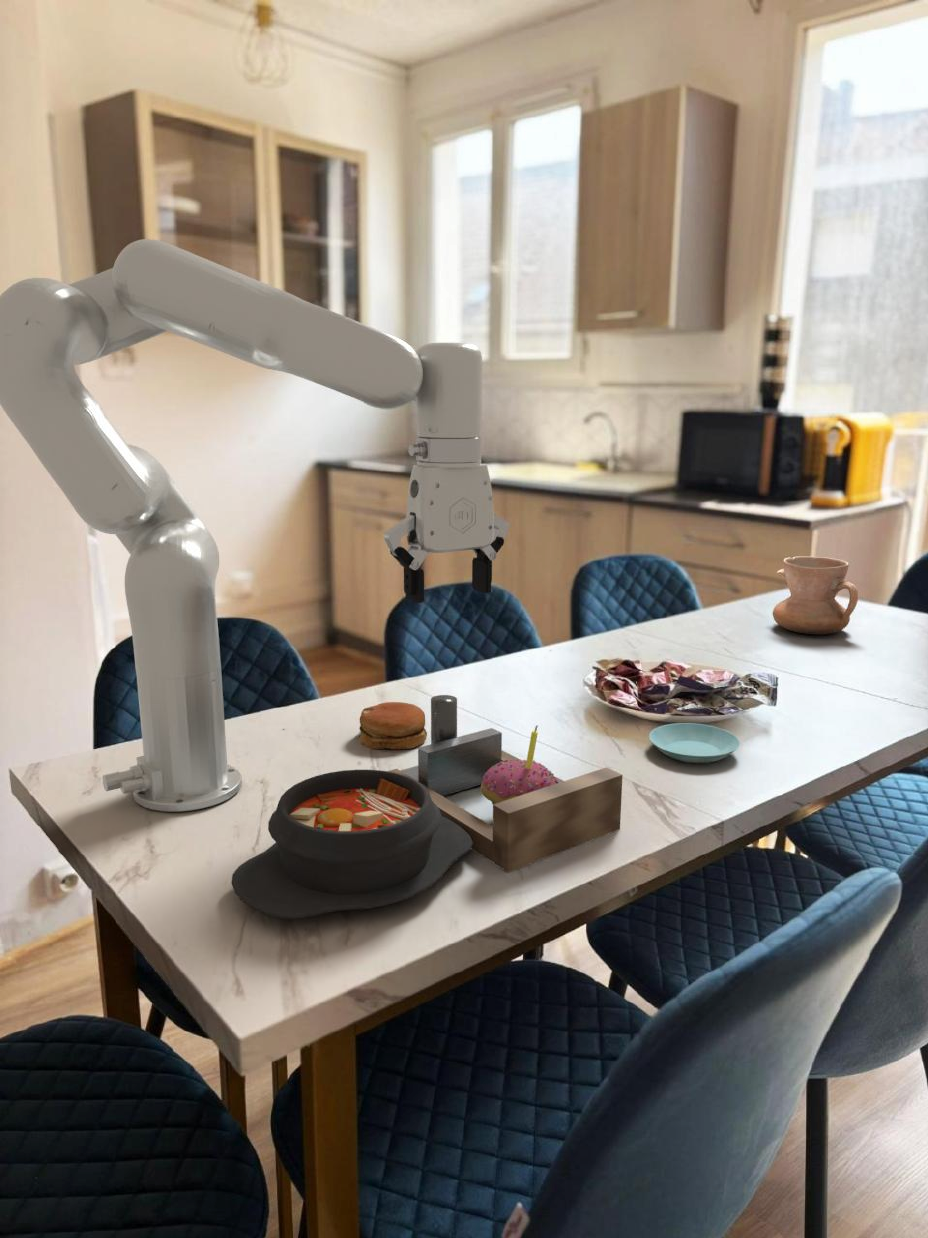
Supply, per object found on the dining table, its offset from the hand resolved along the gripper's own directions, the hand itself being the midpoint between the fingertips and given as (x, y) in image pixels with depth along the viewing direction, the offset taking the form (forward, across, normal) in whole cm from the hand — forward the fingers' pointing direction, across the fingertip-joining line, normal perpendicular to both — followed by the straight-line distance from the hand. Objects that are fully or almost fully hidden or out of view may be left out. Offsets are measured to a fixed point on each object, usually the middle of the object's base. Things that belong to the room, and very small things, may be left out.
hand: (448, 595), depth 112 cm
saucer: (+23, +31, -13) cm, 41 cm away
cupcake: (+23, -1, -16) cm, 28 cm away
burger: (+23, 0, +14) cm, 27 cm away
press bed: (+23, -1, -12) cm, 26 cm away
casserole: (+23, -22, -16) cm, 36 cm away
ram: (+23, -2, -3) cm, 23 cm away
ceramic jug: (+23, +99, +17) cm, 103 cm away
